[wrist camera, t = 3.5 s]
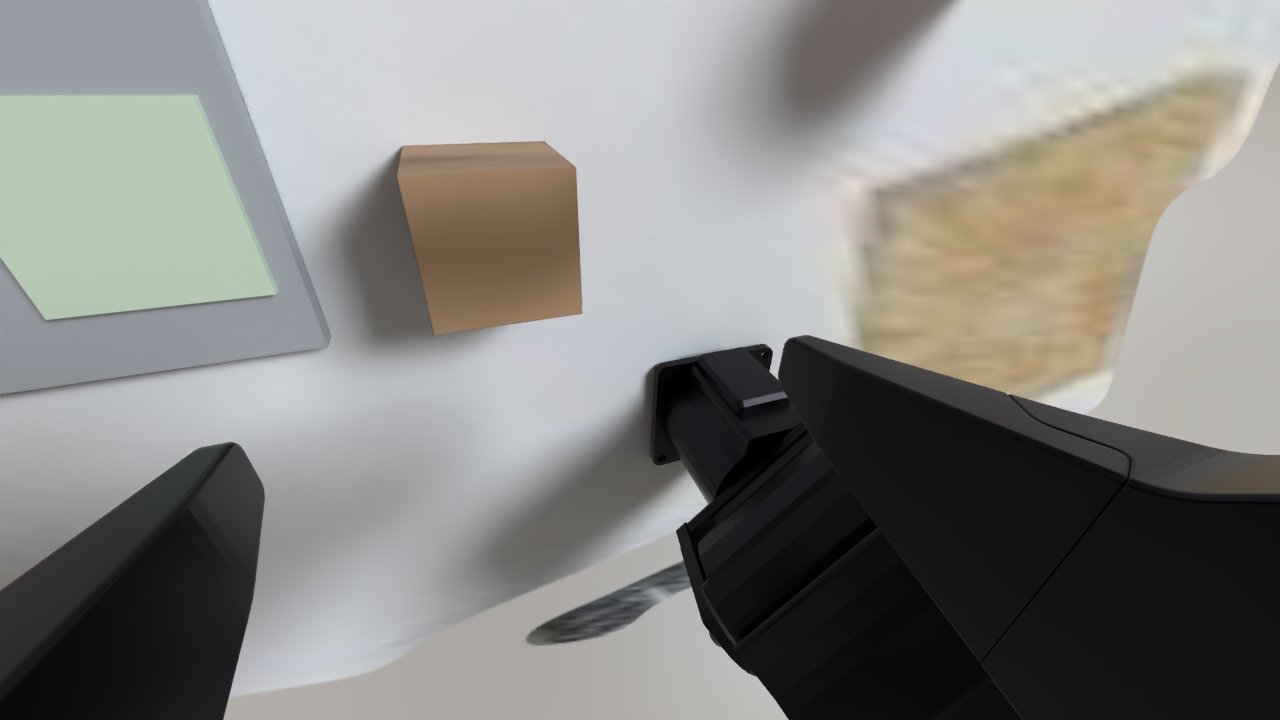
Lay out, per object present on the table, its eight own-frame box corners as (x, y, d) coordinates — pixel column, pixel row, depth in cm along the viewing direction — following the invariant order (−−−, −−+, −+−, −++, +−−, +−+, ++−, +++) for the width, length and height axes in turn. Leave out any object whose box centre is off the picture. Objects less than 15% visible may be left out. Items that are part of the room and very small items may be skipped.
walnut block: (552, 263, 19) (582, 313, 16) (432, 277, 18) (434, 335, 14) (543, 140, 17) (575, 167, 13) (402, 145, 15) (396, 176, 12)
